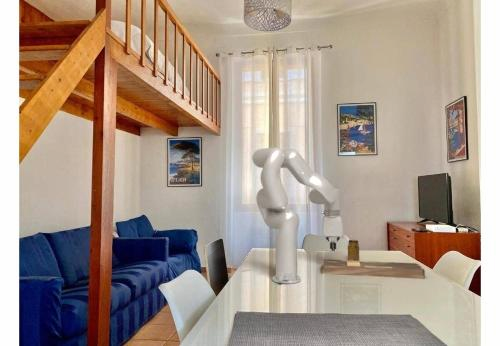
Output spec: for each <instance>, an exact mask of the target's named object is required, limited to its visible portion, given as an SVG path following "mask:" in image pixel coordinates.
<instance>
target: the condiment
mask: <svg viewBox="0 0 500 346" xmlns="http://www.w3.org/2000/svg"><path fill="white" fill-rule="evenodd" d="M347 242H348V245H347V261H359V262H360V245H359V240H357V239H349V240H348V241H347Z"/></svg>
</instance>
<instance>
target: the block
mask: <svg viewBox="0 0 500 346" xmlns="http://www.w3.org/2000/svg"><path fill="white" fill-rule="evenodd" d="M345 261H346V266H360V262H361V261H360V260H359V261H348V260H345Z"/></svg>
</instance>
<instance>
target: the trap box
mask: <svg viewBox="0 0 500 346" xmlns="http://www.w3.org/2000/svg"><path fill="white" fill-rule="evenodd" d="M346 261H347V260H343V259H322V260H321V274H325V275H326V274H327V275H346V276H347V275H348V276H363V275H368V277H382V276H384V277H385V278H405V279H406V278H407V279H424V280H425V279H426V278H425V277H426V272H425V271H426V270H425V269H424V268H423V266H421V265H420V264H419V263H416V262H398V261H397V262H395V261H394V262H393V261H373V260H372V261H371V260H370V261H368V260H363V261H359V262H360V266H346Z"/></svg>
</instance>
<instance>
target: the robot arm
mask: <svg viewBox="0 0 500 346" xmlns="http://www.w3.org/2000/svg"><path fill="white" fill-rule="evenodd" d="M251 159H252V162H253V165H254V166H256V167H257V168H262V169H261V173H260V183H261V186H262V188H261V189H259V190H258V191H257V193H256V197H255V198H256V199H255V200H256V205H257V208H258V210H259V212H260V214H261V217H262V219H263V221H264V223H265V224H266V226H267V227H268V228H270V229H274V230H278V231H277V234H276V236H275V274H274V275H272V281H273V282H275V283H278V284H288V285H289V284H290V285H291V284H297V283H300V282H301V281H302V280H301V279H302V278H301V277H300V276H299V275H298V231H299V226H300V218H299V214H298V213H297V212H296V211H295V210H292V209H289V208H286V207H287V206H288V203H289V198H288V195H287V192H286V190H285V188H284V185H283V183H282V180H281V175H280V172H281V169H287V170H288V171H289V172H290V174H291V175H292V176H293V177H294V179H295V180H296V181H297V182H298V183H299V184H301V185H303V186H307V187H310V188H312V190H310V191H309V193H308V199H309V201H310V202H311V203H312V204H316V205H323V208H324V210H321V215H322V220H321V230H322V231H321V234H322V235H321V239H323V240H327V241H328V242H329V249H331V252H335V251H336V250H337V242H339V240H342V239H345V235H344V223H343V217H342V215H341V207H340V206H341V204H340V201H341V200H340V189H338V188H337V187H336V188H335V187H334V186H333V185H332V183H330V181H328V179H326V178H325V177H323V176H322V175H320V174H319V173H317V172H316V171H314V170H312V168H311V167H310V166H309V164H308V163H307V162H306V160H305V159H304V158H303V156H302V155H301V154H300V153H299V151H298V150H296V149H293V148H290V149H289V148H288V149H281V148H280V147H275V146H274V147H266V148H259V149H257V150H255V151H254V152H253V154H252V158H251ZM332 238H334V239H332Z"/></svg>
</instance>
